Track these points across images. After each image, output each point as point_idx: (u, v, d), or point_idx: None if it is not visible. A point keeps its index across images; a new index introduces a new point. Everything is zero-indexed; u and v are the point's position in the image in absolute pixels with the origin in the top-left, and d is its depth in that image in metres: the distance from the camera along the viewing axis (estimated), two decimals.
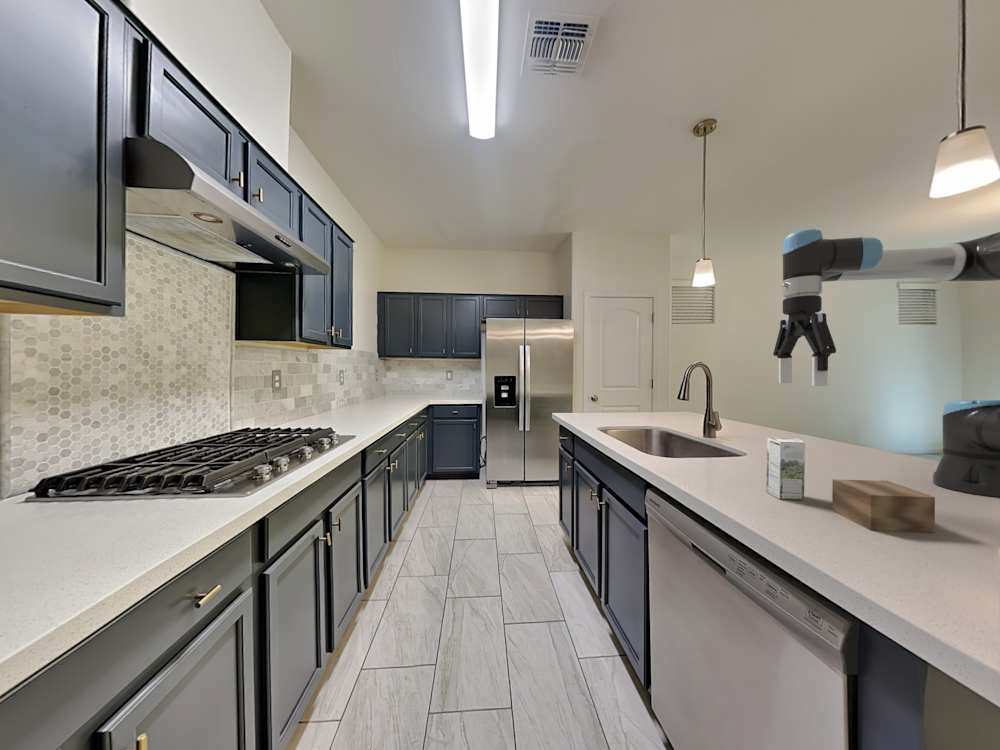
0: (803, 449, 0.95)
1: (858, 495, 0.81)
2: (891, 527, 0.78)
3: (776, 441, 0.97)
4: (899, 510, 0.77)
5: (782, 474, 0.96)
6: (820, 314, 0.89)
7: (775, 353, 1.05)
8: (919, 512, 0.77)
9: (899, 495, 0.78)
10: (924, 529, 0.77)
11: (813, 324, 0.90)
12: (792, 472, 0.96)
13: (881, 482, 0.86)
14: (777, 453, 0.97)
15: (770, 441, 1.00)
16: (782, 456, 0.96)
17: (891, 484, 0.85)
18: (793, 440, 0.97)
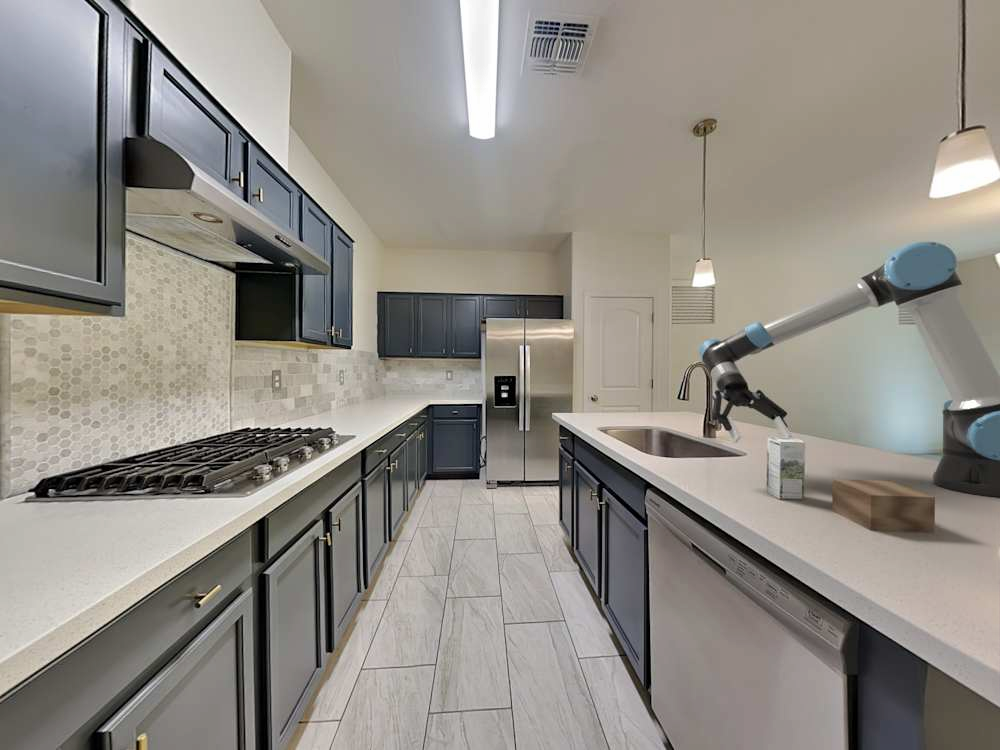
0: (803, 449, 0.95)
1: (858, 495, 0.81)
2: (891, 527, 0.78)
3: (776, 441, 0.97)
4: (899, 510, 0.77)
5: (782, 474, 0.96)
6: (714, 393, 1.16)
7: None
8: (919, 512, 0.77)
9: (899, 495, 0.78)
10: (924, 529, 0.77)
11: None
12: (792, 472, 0.96)
13: (881, 482, 0.86)
14: (777, 453, 0.97)
15: (770, 441, 1.00)
16: (782, 456, 0.96)
17: (891, 484, 0.85)
18: (793, 440, 0.97)
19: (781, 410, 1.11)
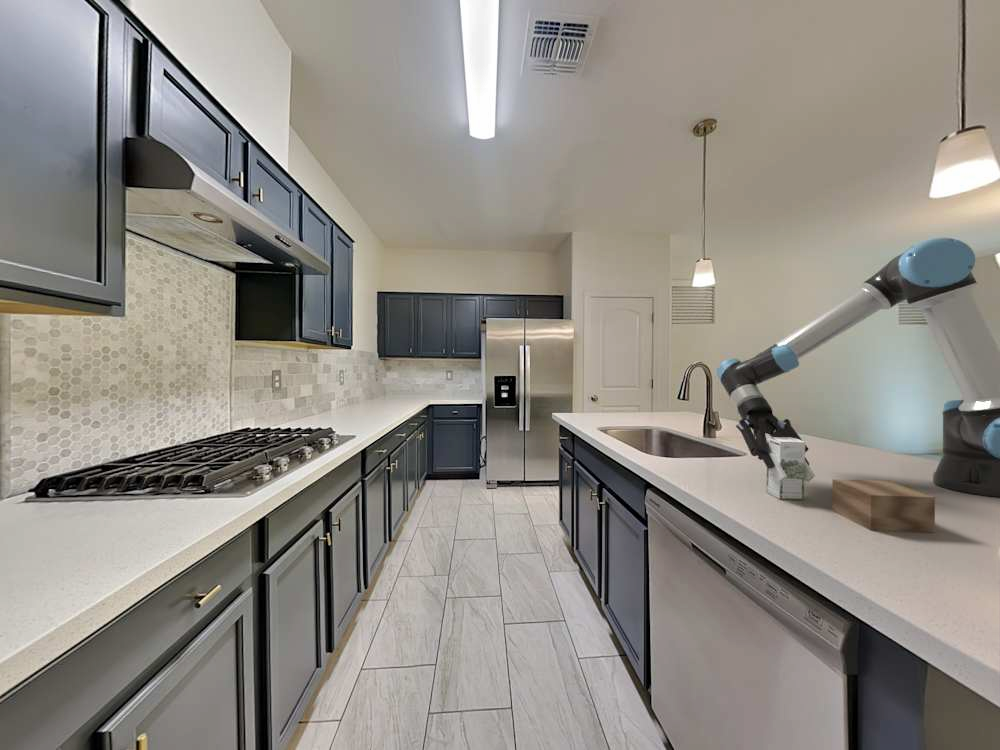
0: (803, 449, 0.95)
1: (858, 495, 0.81)
2: (891, 527, 0.78)
3: (776, 441, 0.97)
4: (899, 510, 0.77)
5: None
6: (738, 423, 1.06)
7: None
8: (919, 512, 0.77)
9: (899, 495, 0.78)
10: (924, 529, 0.77)
11: None
12: (791, 472, 0.96)
13: (881, 482, 0.86)
14: (777, 453, 0.97)
15: (770, 441, 1.00)
16: (782, 456, 0.96)
17: (891, 484, 0.85)
18: (793, 440, 0.97)
19: None
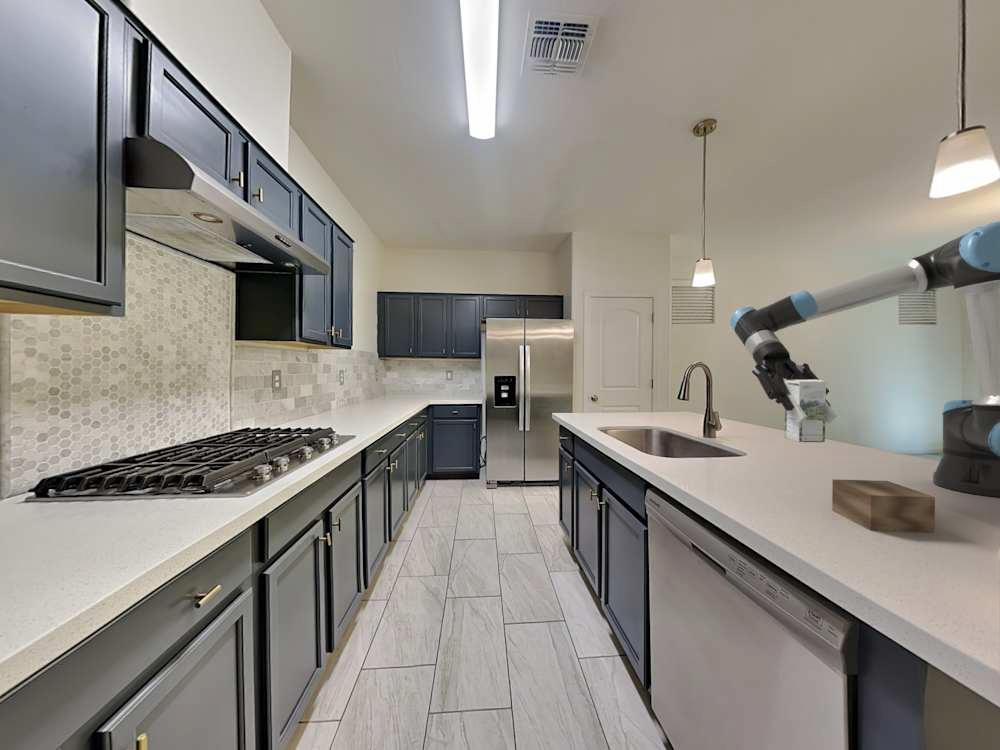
0: (824, 389, 0.91)
1: (858, 495, 0.81)
2: (891, 527, 0.78)
3: (795, 382, 0.93)
4: (899, 510, 0.77)
5: None
6: (754, 368, 1.02)
7: None
8: (919, 512, 0.77)
9: (899, 495, 0.78)
10: (924, 529, 0.77)
11: None
12: (812, 413, 0.91)
13: (881, 482, 0.86)
14: (796, 394, 0.92)
15: (788, 383, 0.95)
16: (801, 397, 0.91)
17: (891, 484, 0.85)
18: (813, 380, 0.92)
19: None
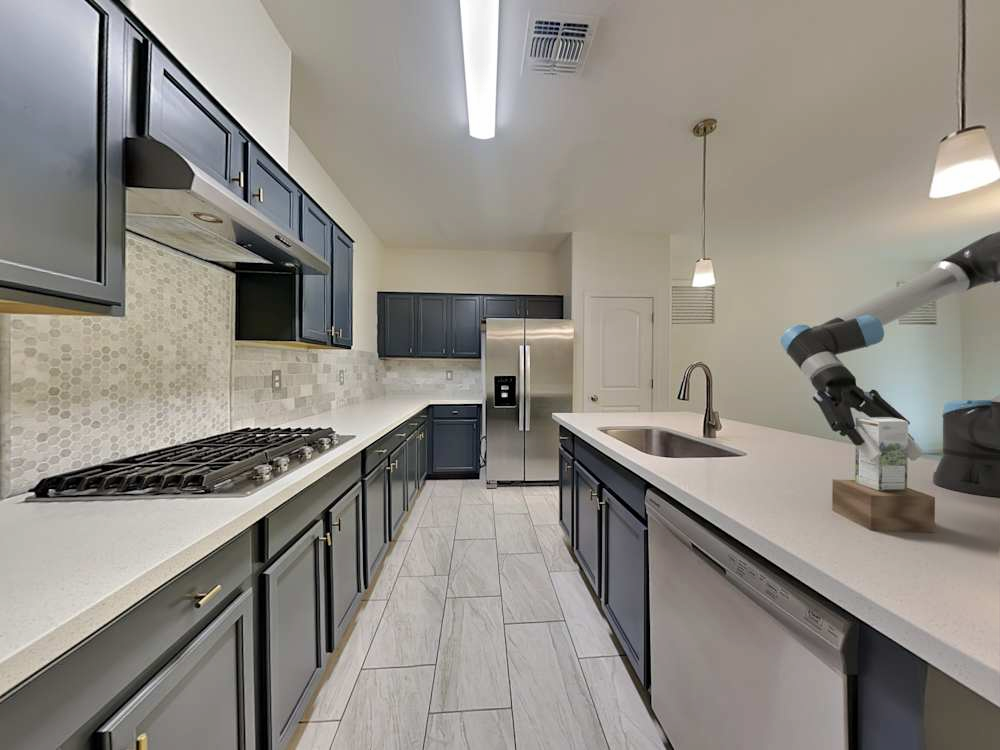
0: (906, 430, 0.80)
1: (858, 495, 0.81)
2: (891, 527, 0.78)
3: (872, 421, 0.81)
4: (899, 510, 0.77)
5: (882, 460, 0.80)
6: (816, 395, 0.90)
7: None
8: (919, 512, 0.77)
9: (899, 495, 0.78)
10: (924, 529, 0.77)
11: None
12: (893, 458, 0.80)
13: None
14: (874, 435, 0.81)
15: (861, 422, 0.84)
16: (881, 439, 0.80)
17: None
18: (892, 419, 0.81)
19: (901, 418, 0.85)
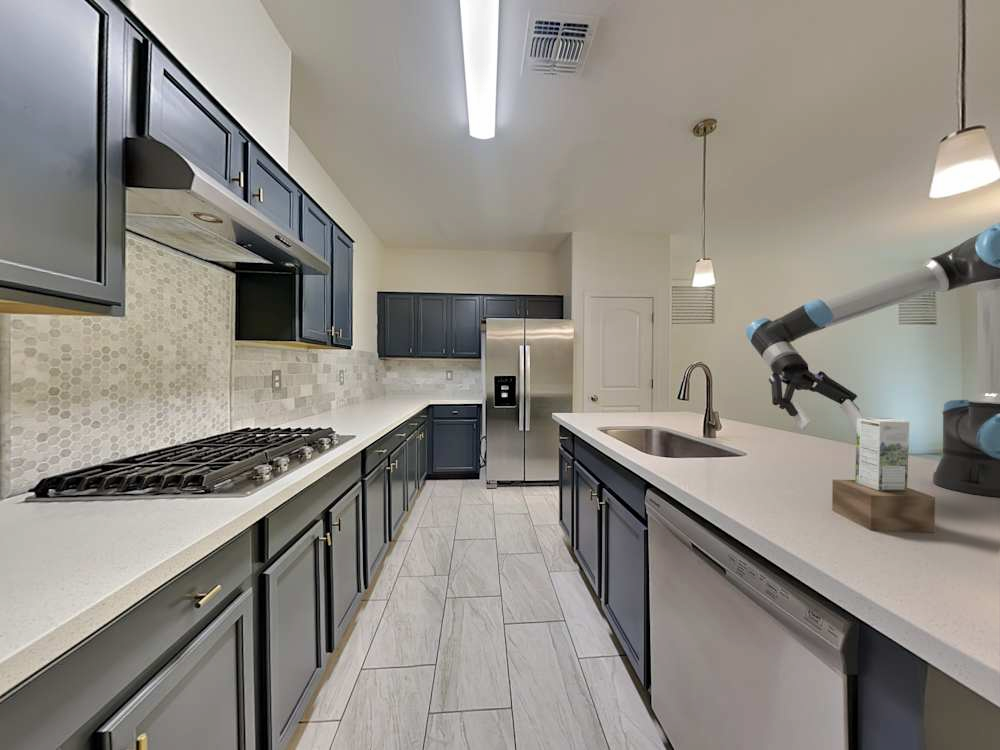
0: (907, 430, 0.80)
1: (858, 495, 0.81)
2: (891, 527, 0.78)
3: (873, 421, 0.81)
4: (899, 510, 0.77)
5: (882, 460, 0.80)
6: (771, 376, 1.04)
7: None
8: (919, 512, 0.77)
9: (899, 495, 0.78)
10: (924, 529, 0.77)
11: None
12: (893, 458, 0.80)
13: None
14: (875, 435, 0.81)
15: (862, 422, 0.84)
16: (882, 439, 0.80)
17: None
18: (893, 420, 0.81)
19: (850, 392, 0.99)
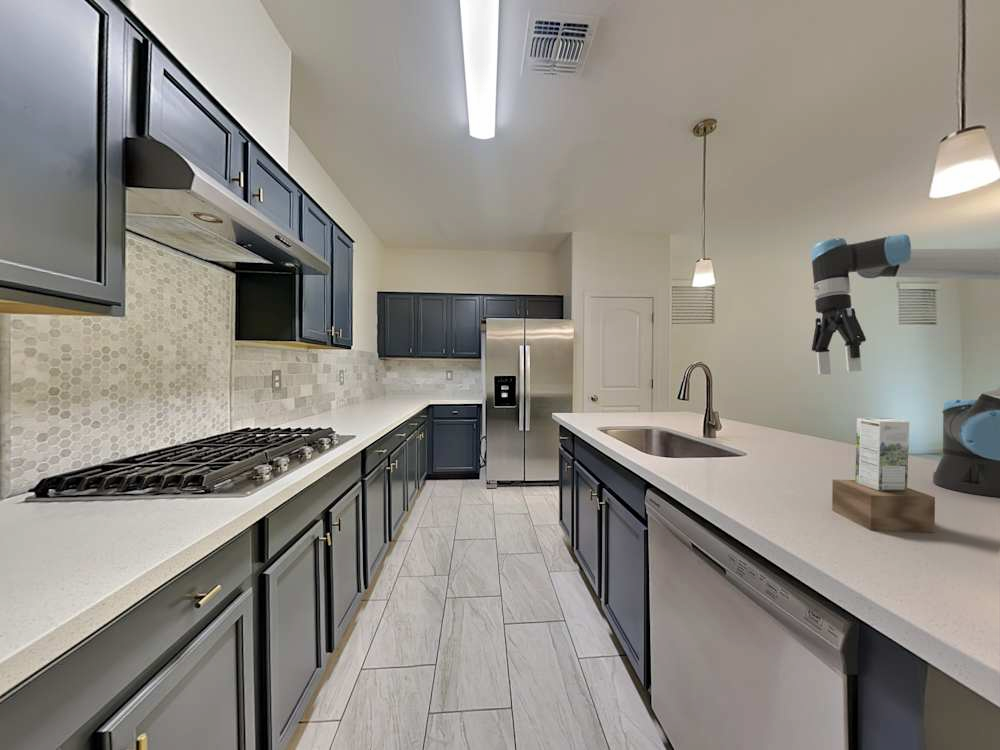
0: (907, 430, 0.80)
1: (858, 495, 0.81)
2: (891, 527, 0.78)
3: (873, 421, 0.81)
4: (899, 510, 0.77)
5: (882, 460, 0.80)
6: (849, 309, 1.03)
7: (813, 348, 1.18)
8: (919, 512, 0.77)
9: (899, 495, 0.78)
10: (924, 529, 0.77)
11: (843, 318, 1.03)
12: (893, 458, 0.80)
13: None
14: (875, 435, 0.81)
15: (862, 422, 0.84)
16: (882, 439, 0.80)
17: None
18: (893, 420, 0.81)
19: None
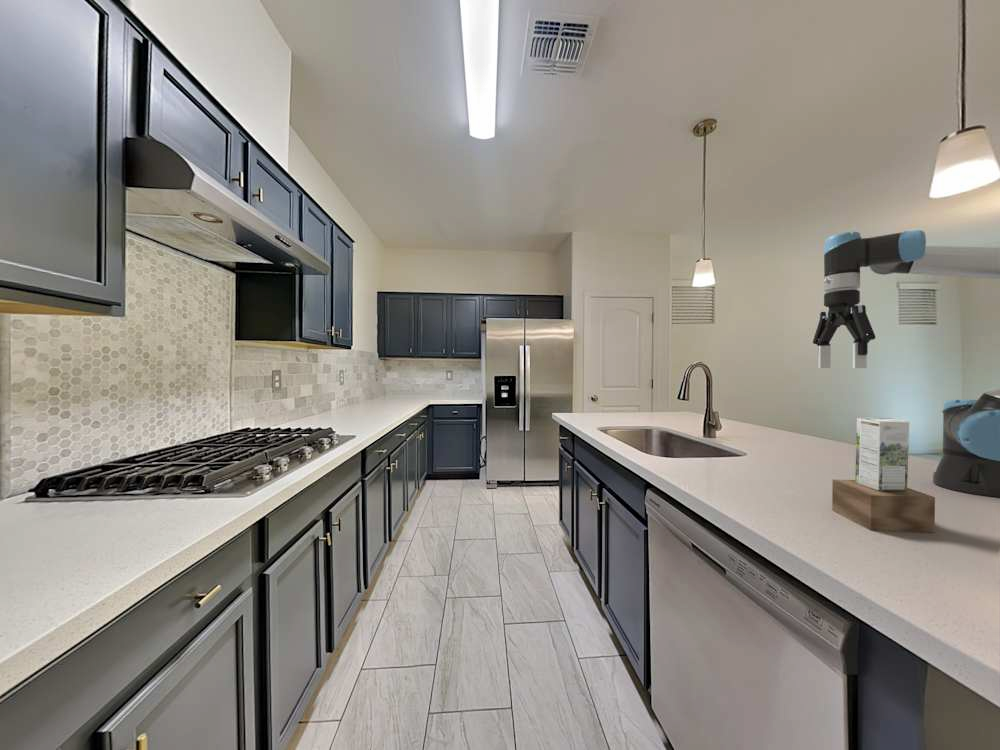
0: (907, 430, 0.80)
1: (858, 495, 0.81)
2: (891, 527, 0.78)
3: (873, 421, 0.81)
4: (899, 510, 0.77)
5: (882, 460, 0.80)
6: (860, 306, 1.03)
7: (815, 341, 1.19)
8: (919, 512, 0.77)
9: (899, 495, 0.78)
10: (924, 529, 0.77)
11: (854, 314, 1.03)
12: (893, 458, 0.80)
13: None
14: (875, 435, 0.81)
15: (862, 422, 0.84)
16: (882, 439, 0.80)
17: None
18: (893, 420, 0.81)
19: None
